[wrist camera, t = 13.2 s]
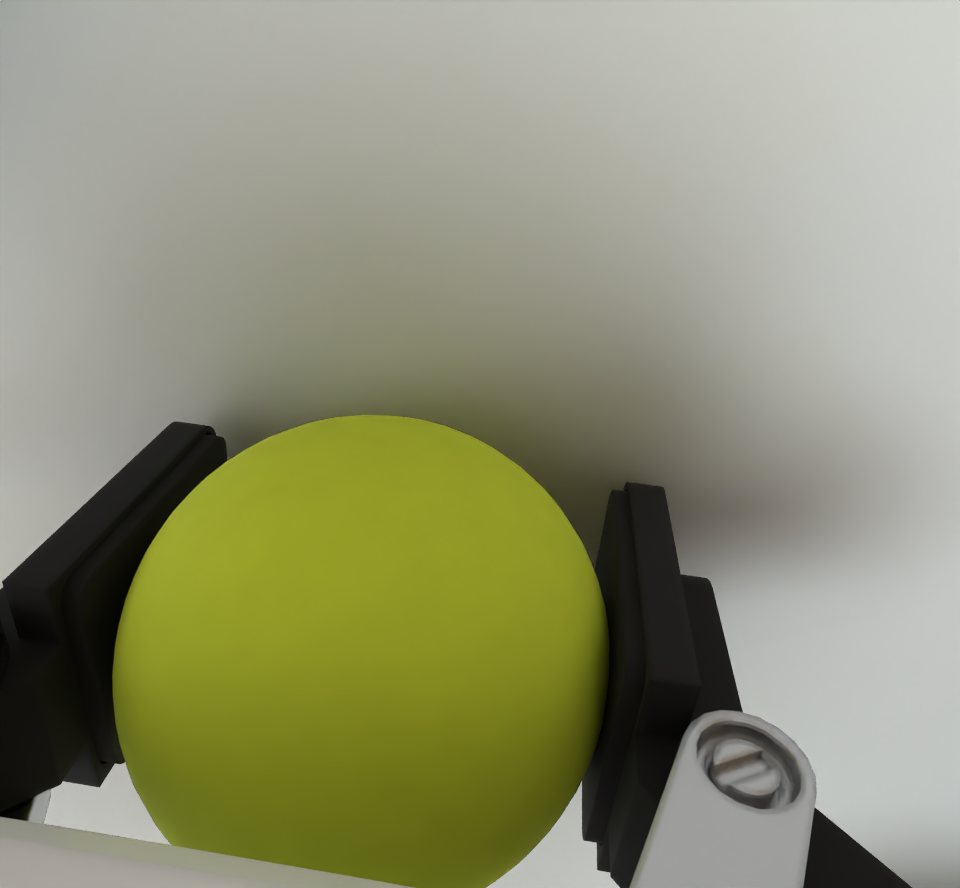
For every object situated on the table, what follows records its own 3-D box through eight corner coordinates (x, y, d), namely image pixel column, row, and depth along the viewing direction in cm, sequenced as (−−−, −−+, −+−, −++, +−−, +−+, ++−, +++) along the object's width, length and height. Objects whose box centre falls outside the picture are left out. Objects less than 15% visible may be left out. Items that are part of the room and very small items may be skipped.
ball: (283, 650, 14) (105, 1016, 9) (197, 352, 11) (-142, 631, 6) (605, 655, 13) (623, 1068, 8) (601, 335, 10) (624, 643, 5)
